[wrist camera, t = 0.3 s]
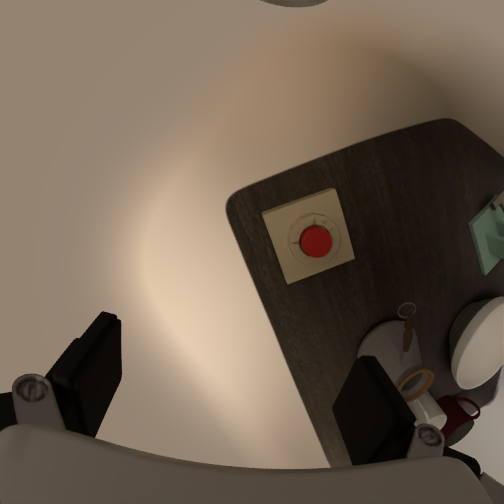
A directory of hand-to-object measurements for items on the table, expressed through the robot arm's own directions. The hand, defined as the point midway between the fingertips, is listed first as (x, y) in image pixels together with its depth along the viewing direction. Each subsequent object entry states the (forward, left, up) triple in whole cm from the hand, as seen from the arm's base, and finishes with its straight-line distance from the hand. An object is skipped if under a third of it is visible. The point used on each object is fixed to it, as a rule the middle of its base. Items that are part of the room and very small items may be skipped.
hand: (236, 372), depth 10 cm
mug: (+32, +58, -30) cm, 73 cm away
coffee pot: (+11, +25, -30) cm, 41 cm away
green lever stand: (-9, +47, -30) cm, 56 cm away
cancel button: (-1, +10, -26) cm, 28 cm away
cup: (+28, +43, -30) cm, 59 cm away
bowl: (+10, +50, -30) cm, 59 cm away
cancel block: (-1, +10, -30) cm, 31 cm away
